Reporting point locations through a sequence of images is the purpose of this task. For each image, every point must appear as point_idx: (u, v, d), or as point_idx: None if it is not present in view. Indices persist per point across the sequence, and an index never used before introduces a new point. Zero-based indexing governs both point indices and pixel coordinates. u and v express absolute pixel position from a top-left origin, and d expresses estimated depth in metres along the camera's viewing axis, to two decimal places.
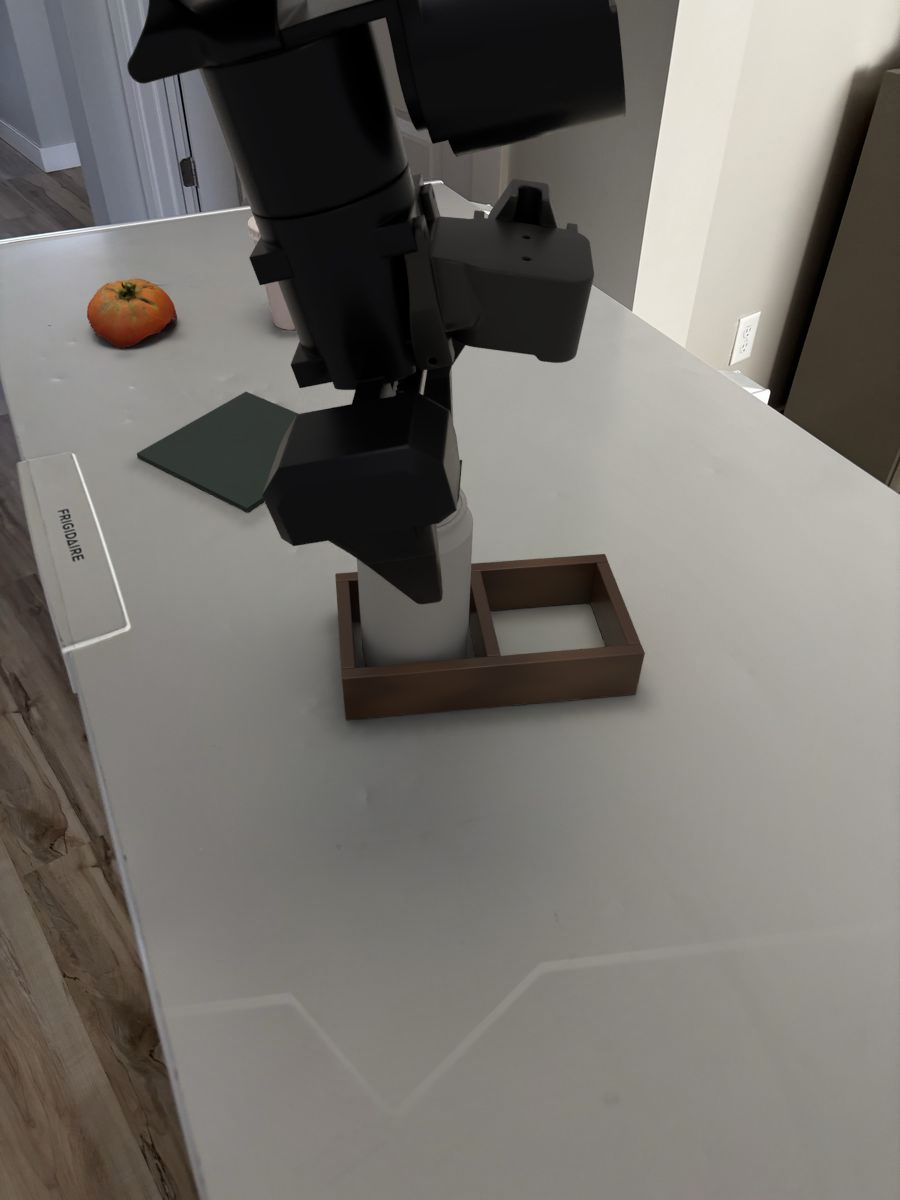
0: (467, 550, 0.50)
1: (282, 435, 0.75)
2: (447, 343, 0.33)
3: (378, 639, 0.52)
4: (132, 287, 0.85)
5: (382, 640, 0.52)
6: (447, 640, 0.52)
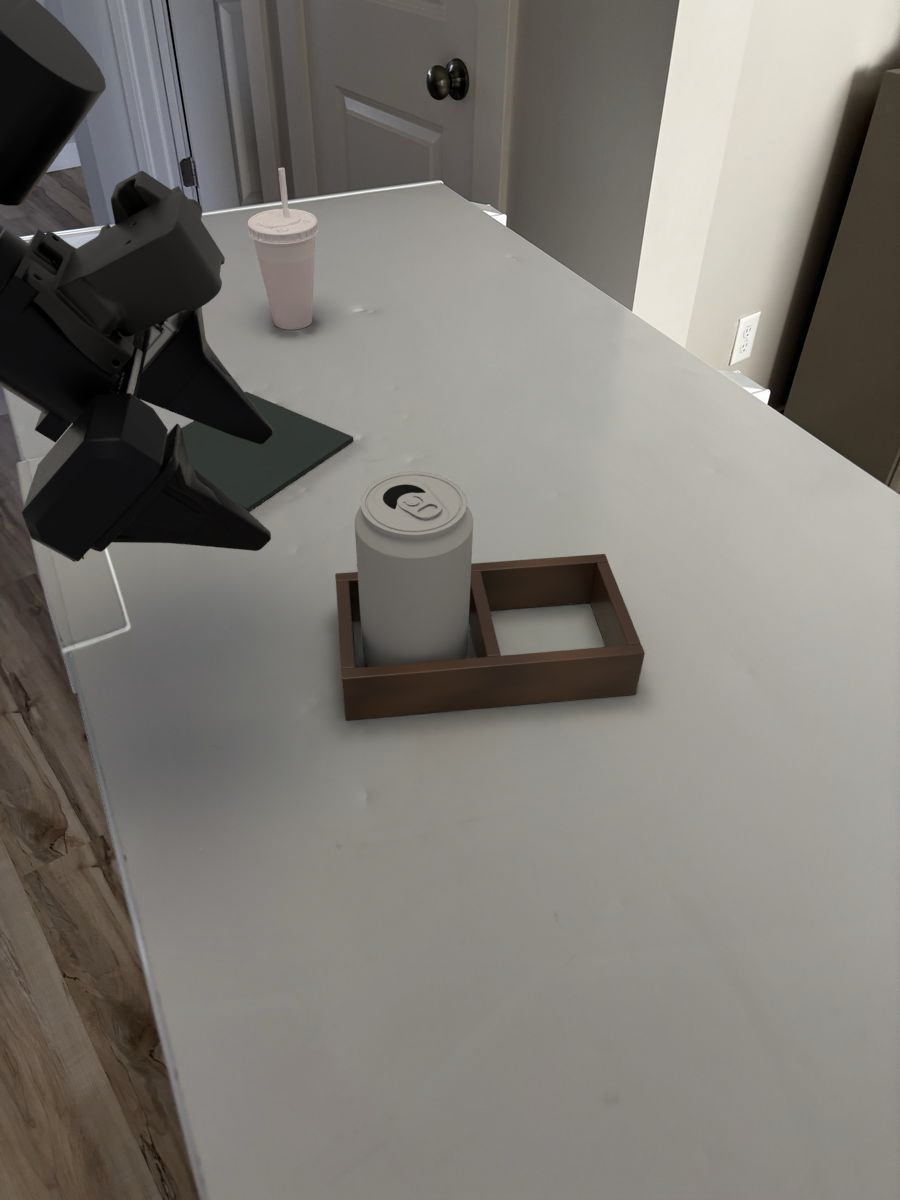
0: (467, 550, 0.50)
1: (282, 435, 0.75)
2: (113, 343, 0.38)
3: (378, 639, 0.52)
4: None
5: (382, 640, 0.52)
6: (447, 640, 0.52)
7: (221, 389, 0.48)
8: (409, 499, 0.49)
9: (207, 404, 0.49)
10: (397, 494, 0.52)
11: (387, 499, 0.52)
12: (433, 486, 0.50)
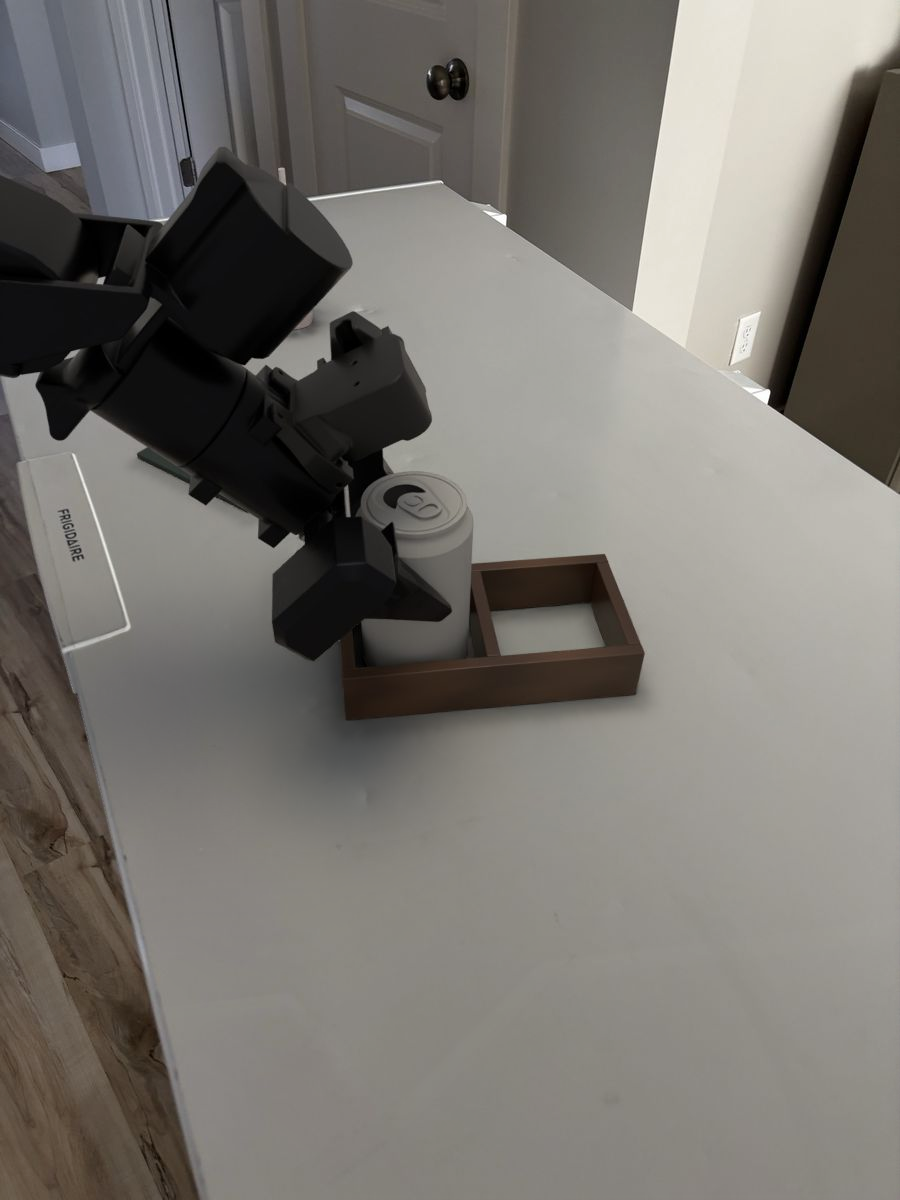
0: (467, 550, 0.50)
1: None
2: (340, 469, 0.44)
3: (378, 639, 0.52)
4: None
5: (382, 640, 0.52)
6: (447, 640, 0.52)
7: None
8: (410, 499, 0.49)
9: None
10: (398, 493, 0.52)
11: (388, 499, 0.52)
12: (433, 486, 0.50)
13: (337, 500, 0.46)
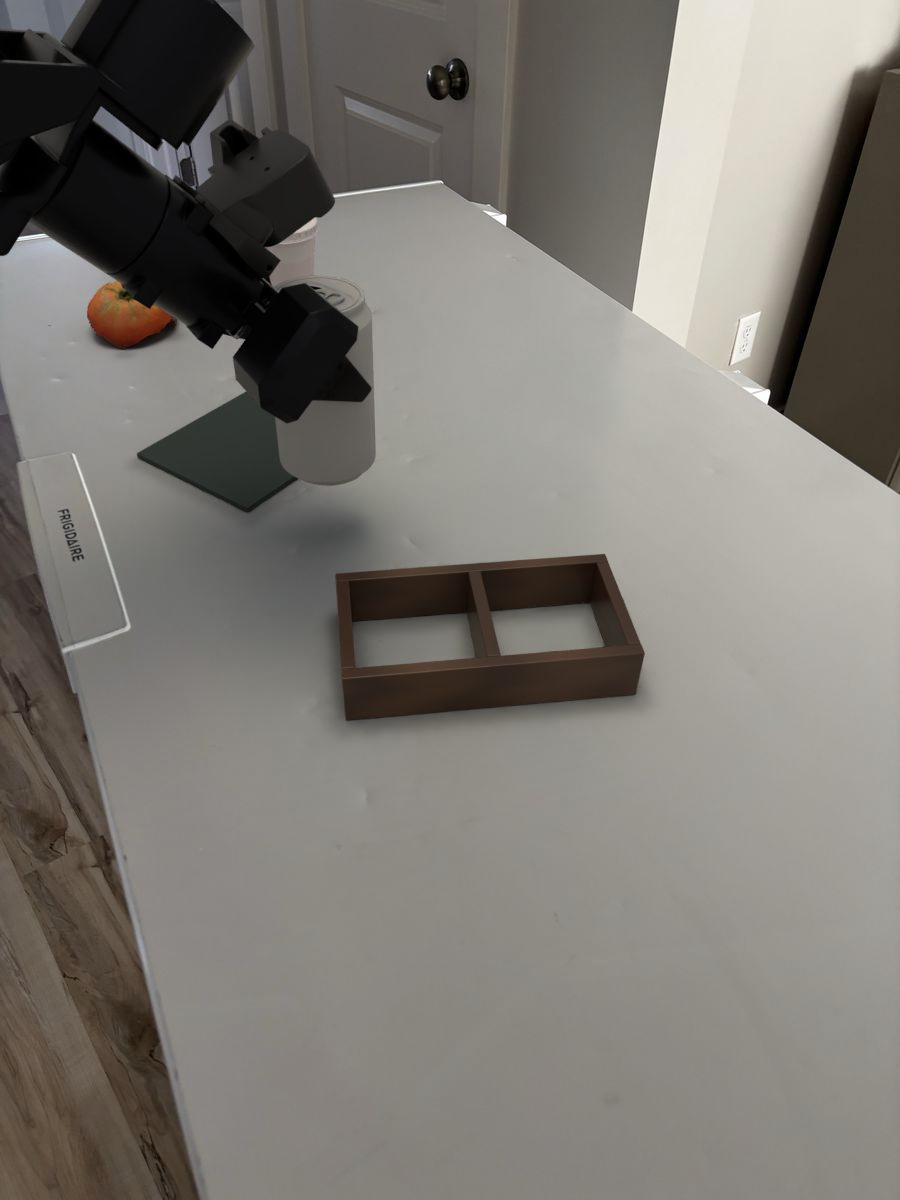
0: (371, 331, 0.56)
1: None
2: (268, 251, 0.48)
3: (306, 437, 0.57)
4: None
5: (311, 437, 0.57)
6: (366, 425, 0.58)
7: None
8: None
9: None
10: None
11: None
12: (325, 283, 0.56)
13: (262, 291, 0.50)
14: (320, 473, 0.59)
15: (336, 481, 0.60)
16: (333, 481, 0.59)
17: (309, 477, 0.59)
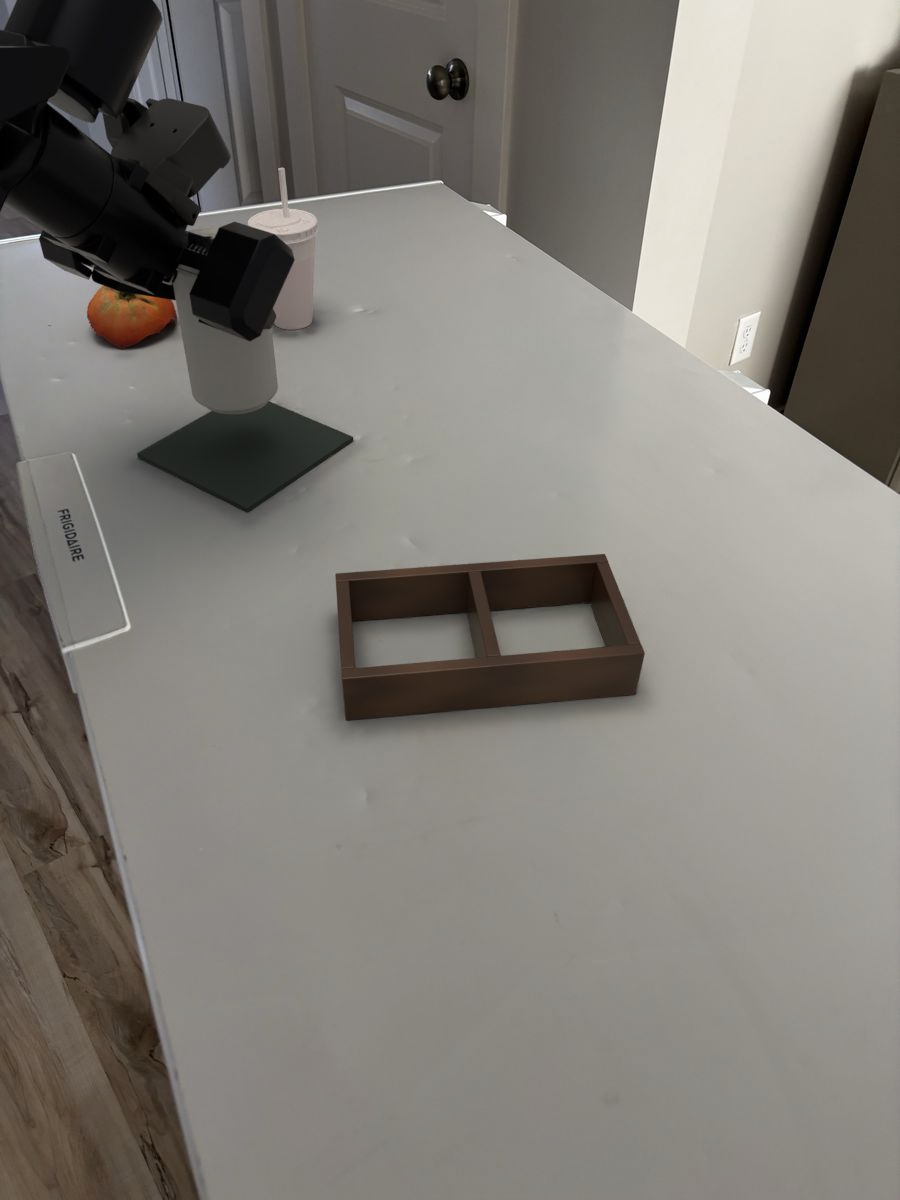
0: None
1: (282, 435, 0.75)
2: (192, 201, 0.56)
3: (228, 369, 0.66)
4: None
5: (232, 368, 0.66)
6: (272, 351, 0.68)
7: None
8: None
9: None
10: None
11: None
12: (213, 232, 0.64)
13: None
14: (242, 401, 0.67)
15: (256, 405, 0.68)
16: (254, 406, 0.68)
17: (233, 407, 0.68)
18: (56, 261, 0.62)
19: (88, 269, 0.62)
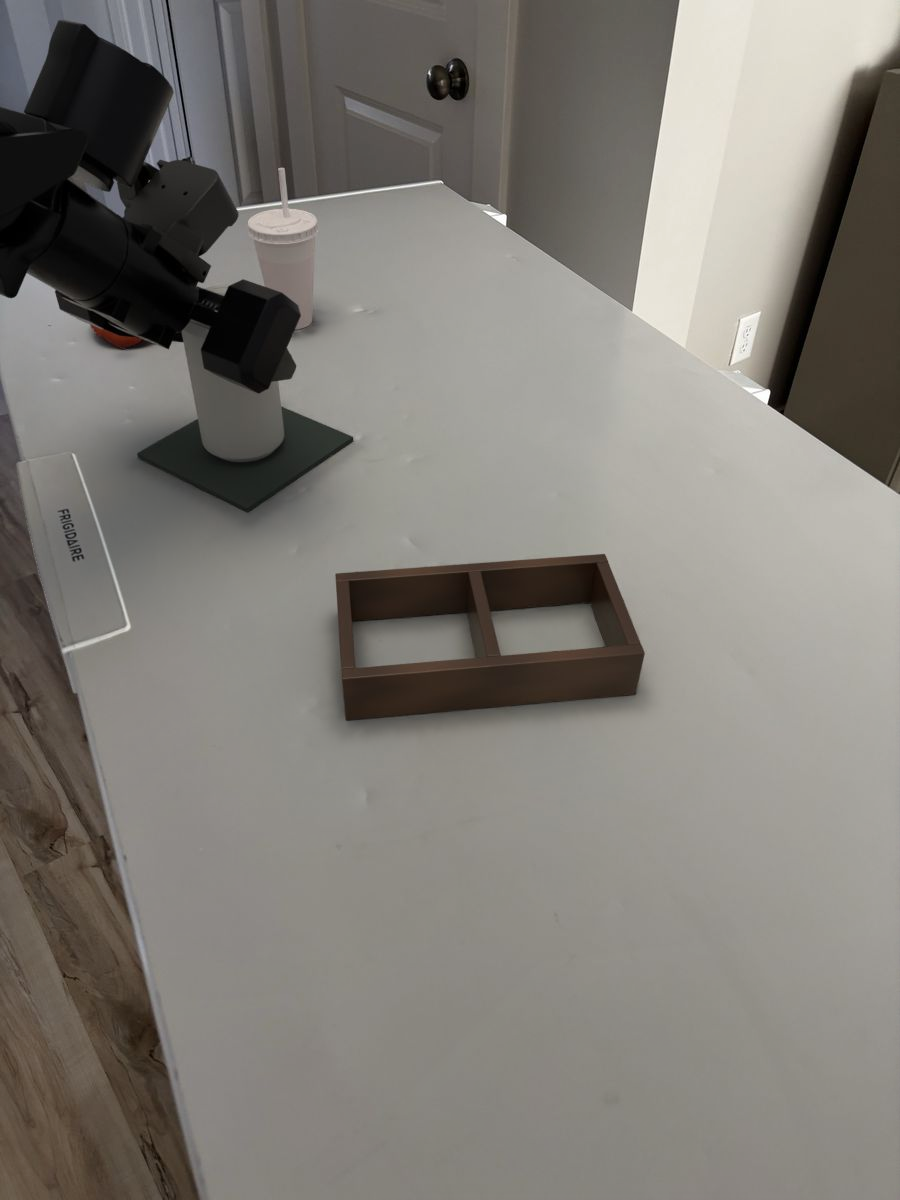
0: None
1: None
2: (202, 259, 0.59)
3: (237, 422, 0.68)
4: None
5: (240, 421, 0.68)
6: (278, 402, 0.71)
7: None
8: None
9: None
10: None
11: None
12: (222, 292, 0.67)
13: (210, 299, 0.60)
14: (250, 450, 0.70)
15: (263, 454, 0.71)
16: (261, 455, 0.71)
17: (241, 456, 0.70)
18: (71, 313, 0.64)
19: (102, 320, 0.64)
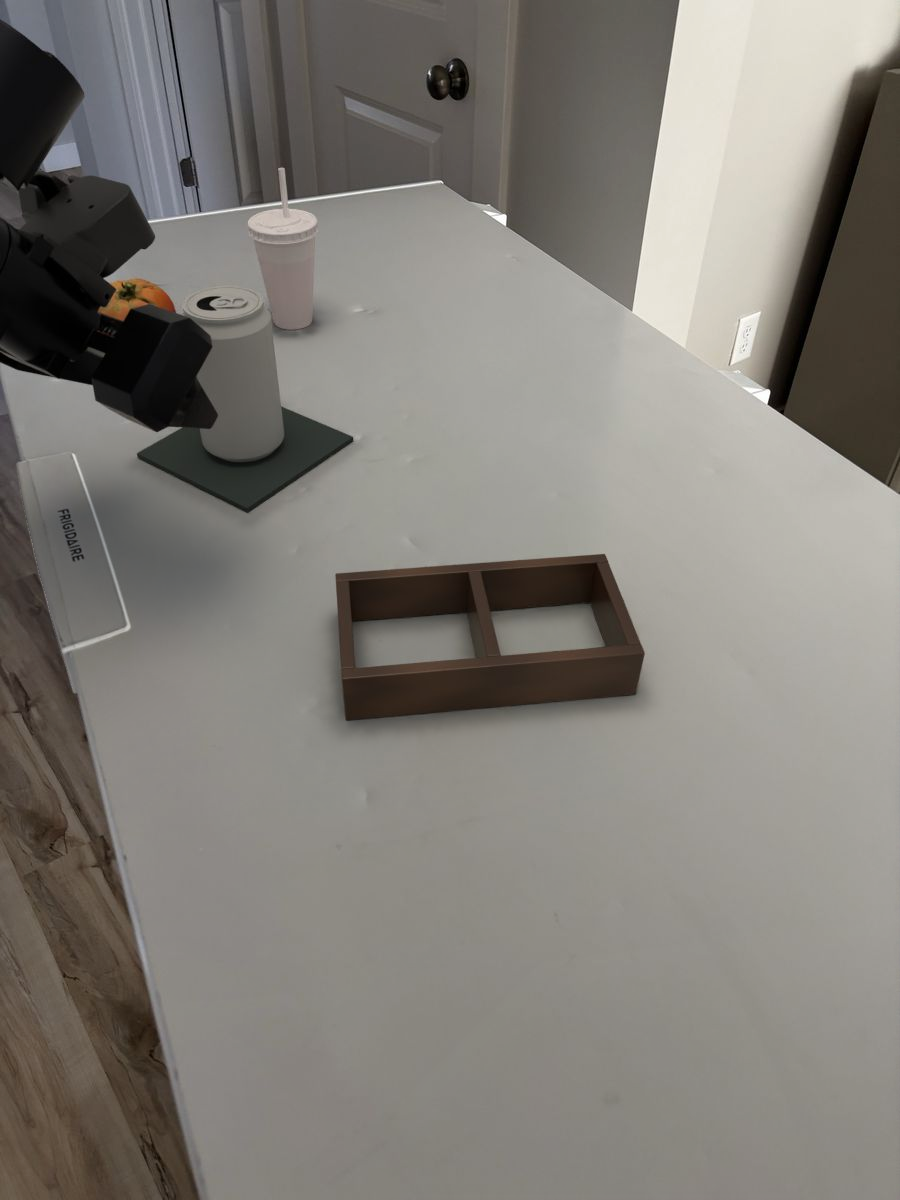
0: None
1: None
2: (105, 280, 0.52)
3: (237, 422, 0.68)
4: (132, 287, 0.85)
5: (240, 421, 0.68)
6: (278, 402, 0.71)
7: None
8: (218, 303, 0.66)
9: (79, 363, 0.61)
10: None
11: None
12: (222, 292, 0.67)
13: (113, 326, 0.53)
14: (250, 450, 0.70)
15: (263, 454, 0.71)
16: (261, 455, 0.71)
17: (241, 456, 0.70)
18: None
19: None
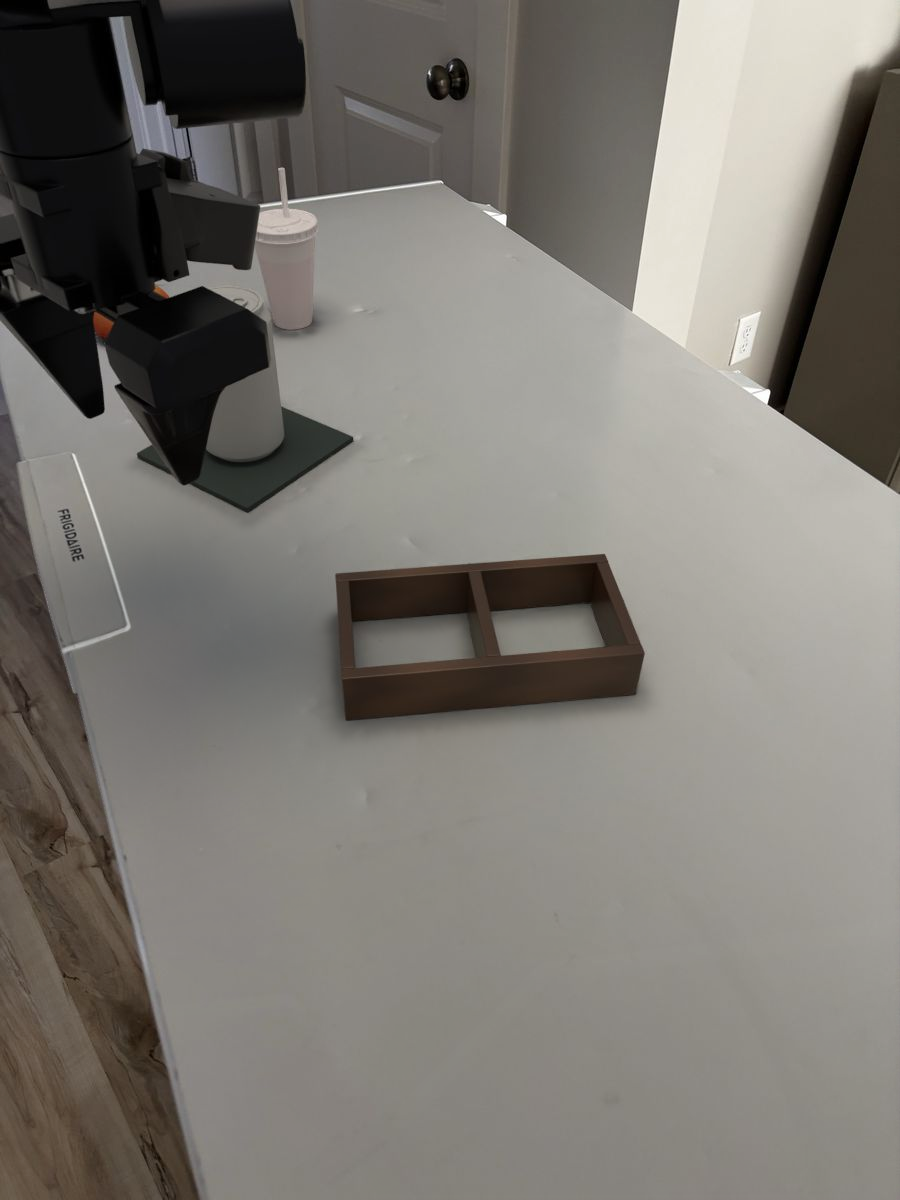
0: None
1: None
2: (185, 257, 0.44)
3: (237, 422, 0.68)
4: None
5: (240, 421, 0.68)
6: (278, 402, 0.71)
7: (89, 353, 0.51)
8: None
9: (69, 360, 0.50)
10: None
11: None
12: (222, 292, 0.67)
13: None
14: (250, 450, 0.70)
15: (263, 454, 0.71)
16: (261, 455, 0.71)
17: (241, 456, 0.70)
18: None
19: None
